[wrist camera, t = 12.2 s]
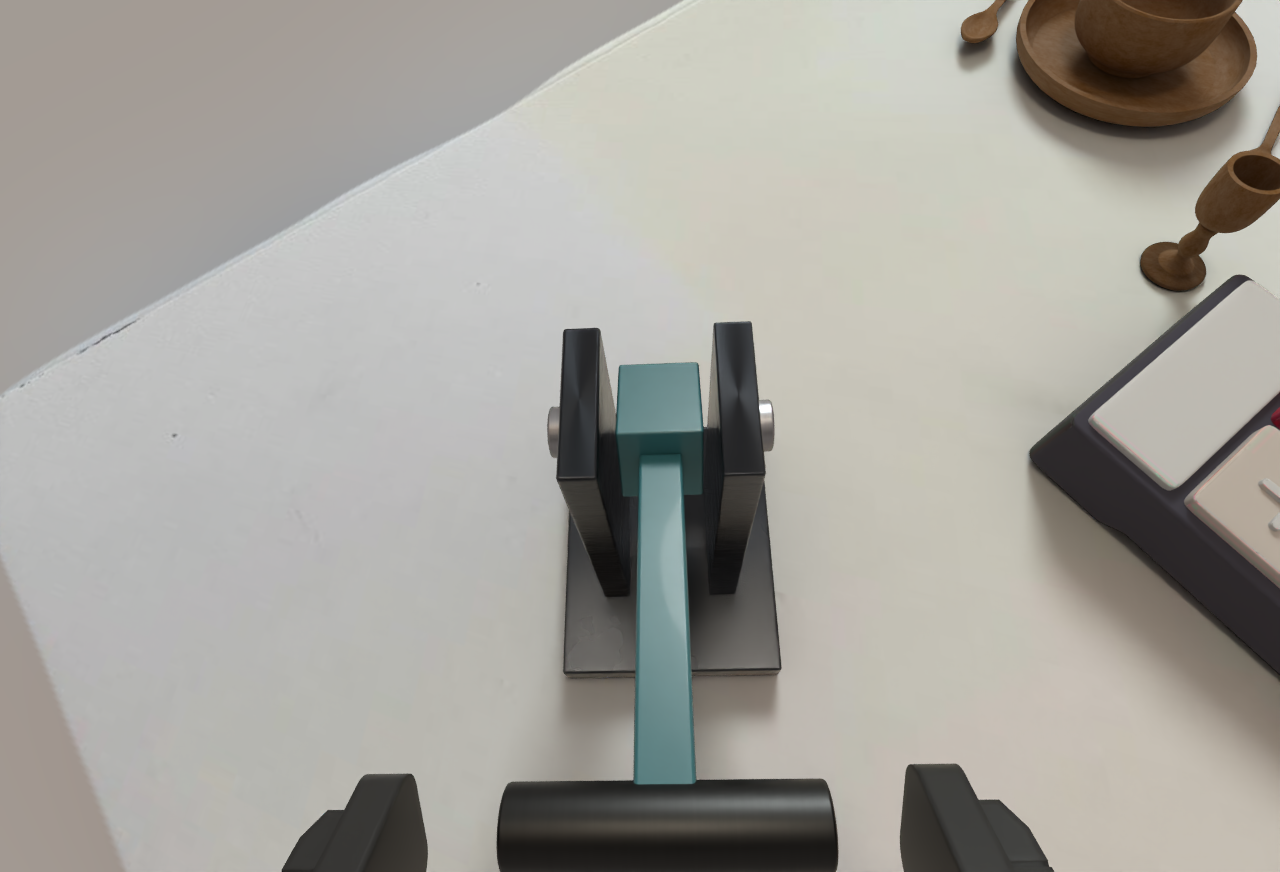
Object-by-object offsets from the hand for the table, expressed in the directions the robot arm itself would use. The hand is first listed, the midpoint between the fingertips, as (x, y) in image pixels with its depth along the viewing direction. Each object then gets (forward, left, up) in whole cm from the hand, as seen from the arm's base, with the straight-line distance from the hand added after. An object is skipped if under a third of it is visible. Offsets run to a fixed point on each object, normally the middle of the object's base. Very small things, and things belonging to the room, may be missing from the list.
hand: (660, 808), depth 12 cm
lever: (+4, +2, -4) cm, 6 cm away
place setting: (+41, -3, -16) cm, 44 cm away
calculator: (+21, -15, -16) cm, 30 cm away
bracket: (+8, +5, -15) cm, 18 cm away
